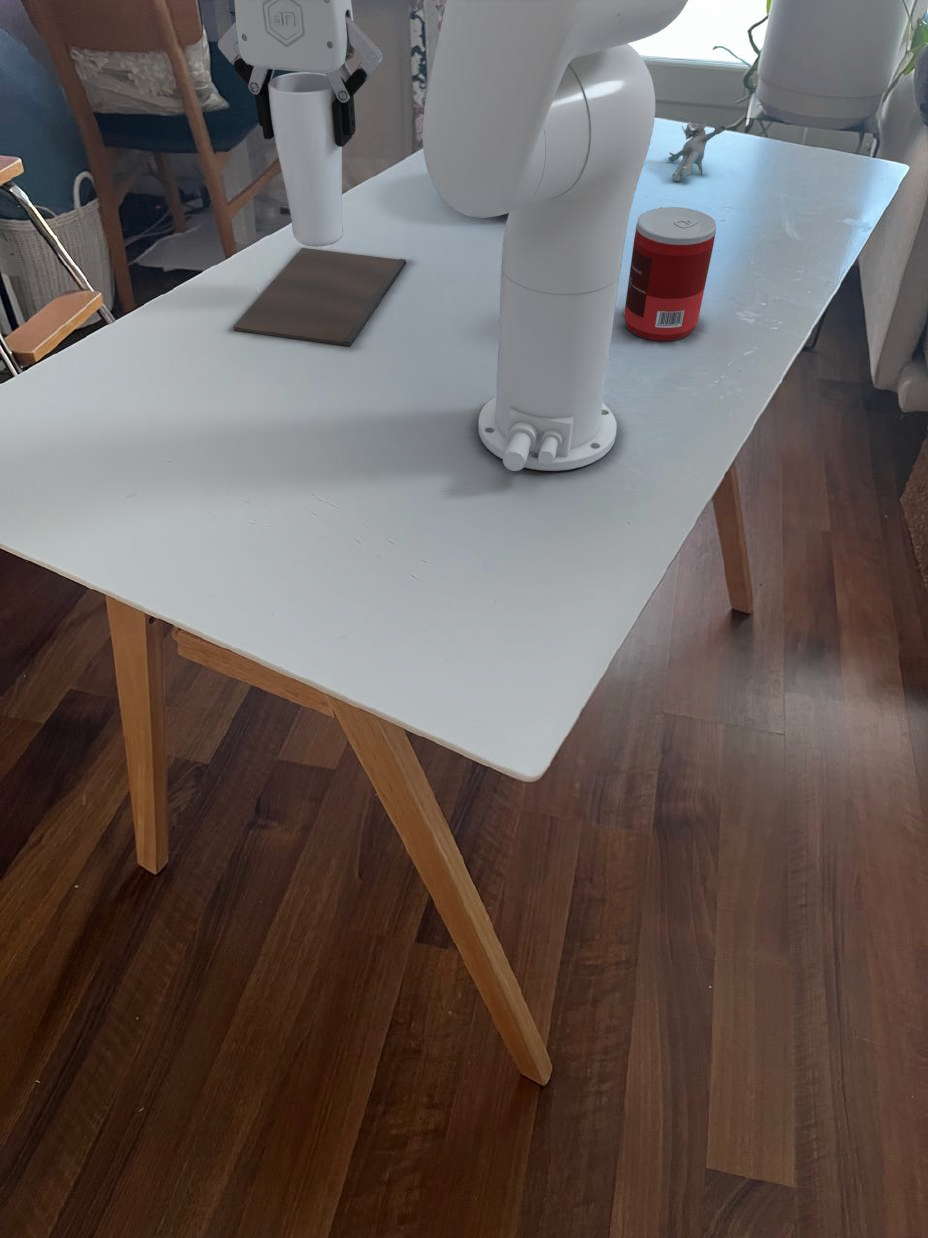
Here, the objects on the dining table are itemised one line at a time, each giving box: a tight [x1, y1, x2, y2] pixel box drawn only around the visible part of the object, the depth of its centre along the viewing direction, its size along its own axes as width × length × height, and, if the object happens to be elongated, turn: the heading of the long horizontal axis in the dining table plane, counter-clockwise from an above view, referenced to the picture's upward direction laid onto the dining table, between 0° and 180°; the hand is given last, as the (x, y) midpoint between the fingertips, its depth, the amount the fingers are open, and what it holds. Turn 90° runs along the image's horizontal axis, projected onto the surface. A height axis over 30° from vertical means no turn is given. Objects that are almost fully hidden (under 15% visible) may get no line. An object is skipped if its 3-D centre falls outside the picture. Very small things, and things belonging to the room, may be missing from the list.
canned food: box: [623, 206, 717, 342], centre depth 96 cm, size 8×8×11 cm
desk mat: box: [232, 247, 407, 347], centre depth 104 cm, size 20×13×1 cm, turn 166°
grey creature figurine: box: [667, 120, 727, 183], centre depth 129 cm, size 10×6×9 cm
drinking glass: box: [268, 72, 344, 248], centre depth 94 cm, size 7×7×15 cm
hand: (308, 136), depth 92 cm, fingers closed on drinking glass, 6 cm apart
